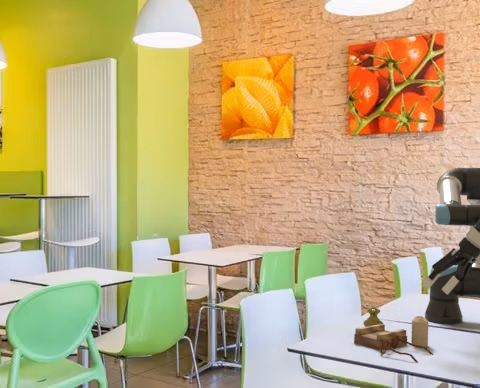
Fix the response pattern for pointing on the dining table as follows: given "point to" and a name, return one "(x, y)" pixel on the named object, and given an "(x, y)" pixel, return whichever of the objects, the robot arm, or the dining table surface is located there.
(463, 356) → the dining table surface
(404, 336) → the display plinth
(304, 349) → the dining table surface
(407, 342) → the glasses
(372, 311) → the brass knob
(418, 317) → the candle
